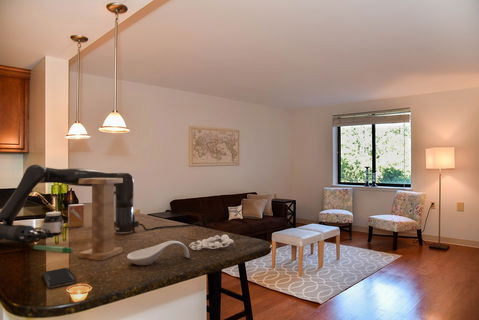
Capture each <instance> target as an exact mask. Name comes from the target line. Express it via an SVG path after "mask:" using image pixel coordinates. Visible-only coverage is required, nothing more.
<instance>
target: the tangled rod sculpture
mask: <svg viewBox="0 0 479 320" xmlns="http://www.w3.org/2000/svg"><path fill="white" fill-rule="evenodd" d="M218 240H220V241H221V242H220V241H218ZM233 244H234V240H233V239H232V238H230V237H229V235H227V234H222V235H221V236H220V235H218V234H216V235H214V236H211V237H208V238H207V239H206V238H204V239H202V240H200V239H198V240H197V241H194V242H193V241H192V242H191V243H190V244H189V245H188V247H189V248H190V249H191V250H193V251H196V250H197V251H199V252H200V251H201V250H202V249H206V250H207V249H210V250H216V249H219V248H226V247H229V246H231V245H233Z"/></svg>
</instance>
